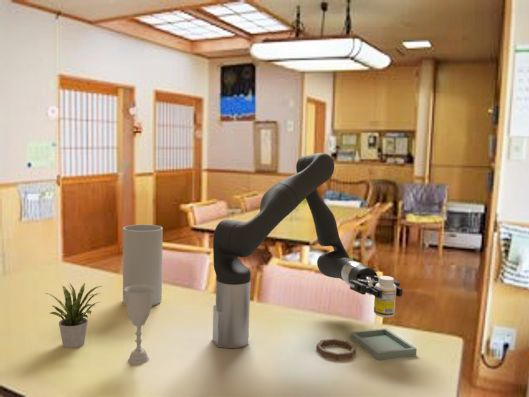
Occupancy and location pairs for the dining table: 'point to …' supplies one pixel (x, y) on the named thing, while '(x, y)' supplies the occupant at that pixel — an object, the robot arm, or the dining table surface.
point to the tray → (383, 344)
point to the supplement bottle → (385, 297)
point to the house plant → (73, 317)
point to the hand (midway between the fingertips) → (390, 293)
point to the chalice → (138, 316)
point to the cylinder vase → (143, 259)
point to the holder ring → (332, 354)
